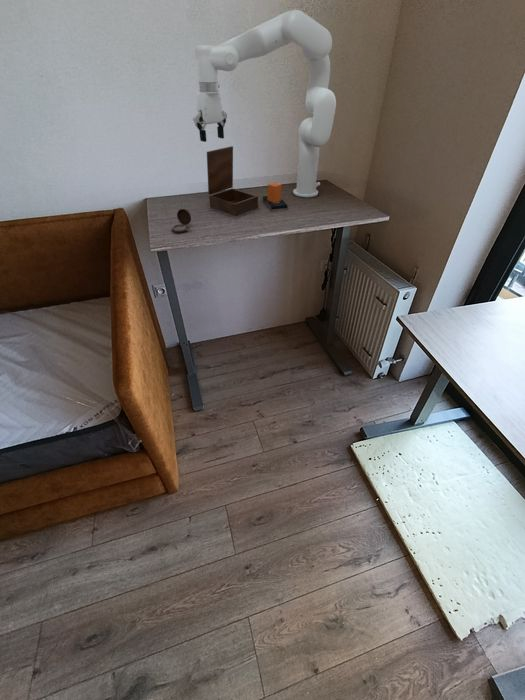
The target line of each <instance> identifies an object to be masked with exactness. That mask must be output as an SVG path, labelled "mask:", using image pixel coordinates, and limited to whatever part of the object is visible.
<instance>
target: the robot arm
mask: <svg viewBox="0 0 525 700" xmlns="http://www.w3.org/2000/svg"><path fill="white" fill-rule="evenodd" d="M290 43H295V44H296V45H297V46H299V47H300V51H301V53H302V55H303V56H304V57H305V58H306V61H307V63H308V67H309V68H308V69H309V76H308V83H307V89H306V97H305V109H306V111H307V112H308V113H309V114H310V115H313V116H312V117H307V118H305V119H304V120H302V122H301V123H300V125H299V127H298V158H297V159H298V160H297V161H298V162H297V175H296V188H294V189H293V190H292V194H293V195H294V196H296V197H298V198H314V197H317V196H318V195H319V190H318V189H317V188H318V187H320V186H321V182H320V181H317V177H318V168H319V159H320V148H322V147H325V145H327V143H328V142H329V140H330V137H331V134H332V131H333V124H334V120H335V114H336V109H337V97H336V95H335V93H334V92H333V91H332V90H331V89H329V86H330V77H331V60H330V59H331V58H330V56H329V54H330V52H331V50H332V48H333V37H332V34H331V32H330V31H329V30H328V29H327V28H326V27H325V26H323V25H322V24H321V23H319V22H317V21H316V20H315V19H314V18H312V17H311V16H309V15H308V14H307V13H305V12H304V11H302V10H299V9H293V10H288V11H285V12H283V13H281V14H279V15H276V16H274V17H273V18H271V19H269V20H266V21H264V22H262V23H260V24H258V25H257V26H253V27H252V28H250V29H248V30H247V31H244V32H243V33H241V34H239V35H236V36H234V37H233V38H230V39H228V40H226V41H224V42H222V43H220V44H218V45H213V44H198V45H196V46H195V50H194V51H195V61H196V62H195V63H196V73H197V84H198V92H197V93H196V114H195V115H194V116H193V117H192V121H193V122H194V125H195V127H196V129H197V130H198V131H199V140H200V142H204V143H206V142H207V141H208V140H207V131H206V130H205V129H206V126H207V125H212V124H213V125H214V124H216V125H217V127H216V130H217V138H218V139H222V140H223V139H225V131H224V128H225V125H226V123H227V118H228V113H227V112H225V111H224V110H223V104H222V98H221V94H220V92H219V88H220V83H219V76H218V71H224V72H233V71H234V70H235V69H237V67H238V65H239V63H242V62H243V61H247V60H251V59H256V58H260V57H264V56H266V55H268V54H270V53H272V52H275V51H276V50H278V49H280V48H282V47H285V46H286V45H289V44H290Z"/></svg>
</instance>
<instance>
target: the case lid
mask: <svg viewBox="0 0 525 700" xmlns="http://www.w3.org/2000/svg"><path fill="white" fill-rule="evenodd" d="M206 168H207V169H206V170H207V190H208V191H207V192H208V196H210V195H213V194H216V193H219V192H222V191H225V190H228V189H232V188H233V189H234V186H233V185H234V146H233V145H231V146H226V147H221V148H217V149H213V150H208V151H206Z"/></svg>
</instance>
